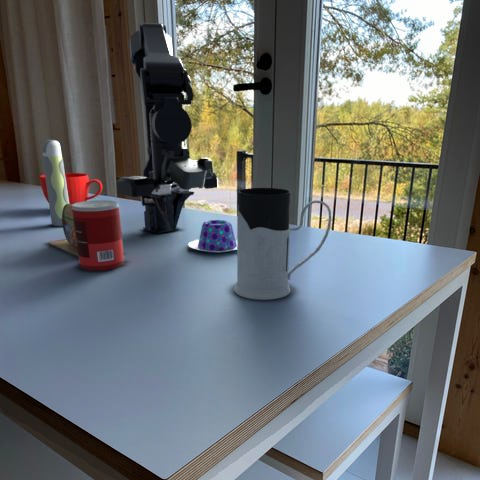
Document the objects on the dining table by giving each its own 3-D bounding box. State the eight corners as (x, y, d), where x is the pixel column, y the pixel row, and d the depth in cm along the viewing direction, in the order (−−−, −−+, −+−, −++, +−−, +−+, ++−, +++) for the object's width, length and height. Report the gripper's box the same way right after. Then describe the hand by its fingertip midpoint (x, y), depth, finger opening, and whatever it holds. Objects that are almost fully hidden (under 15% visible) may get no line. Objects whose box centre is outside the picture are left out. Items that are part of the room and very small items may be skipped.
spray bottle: (74, 225, 119) (63, 140, 111) (54, 227, 116) (41, 140, 108) (69, 222, 122) (57, 139, 115) (49, 224, 120) (36, 139, 112)
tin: (63, 241, 102) (57, 201, 99) (77, 239, 104) (72, 199, 101) (92, 255, 91) (87, 211, 88) (107, 252, 93) (103, 209, 90)
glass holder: (235, 280, 78) (235, 187, 72) (321, 281, 78) (328, 187, 72) (233, 299, 70) (232, 195, 64) (329, 300, 70) (338, 196, 64)
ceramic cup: (98, 215, 131) (94, 178, 127) (37, 215, 131) (31, 177, 127) (110, 207, 143) (107, 173, 139) (55, 207, 143) (49, 172, 139)
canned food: (132, 261, 89) (126, 201, 84) (108, 273, 82) (100, 208, 78) (97, 257, 91) (90, 199, 87) (70, 268, 84) (61, 206, 80)
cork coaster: (79, 238, 106) (79, 237, 106) (120, 254, 93) (119, 252, 93) (48, 243, 101) (48, 242, 101) (86, 260, 89) (86, 259, 89)
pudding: (258, 247, 99) (258, 222, 97) (216, 258, 90) (216, 231, 88) (217, 238, 106) (217, 214, 104) (176, 247, 98) (175, 222, 96)
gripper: (146, 145, 72) (153, 246, 78) (237, 142, 84) (237, 229, 90) (110, 142, 80) (119, 234, 86) (198, 140, 91) (200, 221, 97)
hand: (172, 230), depth 89 cm, fingers closed
